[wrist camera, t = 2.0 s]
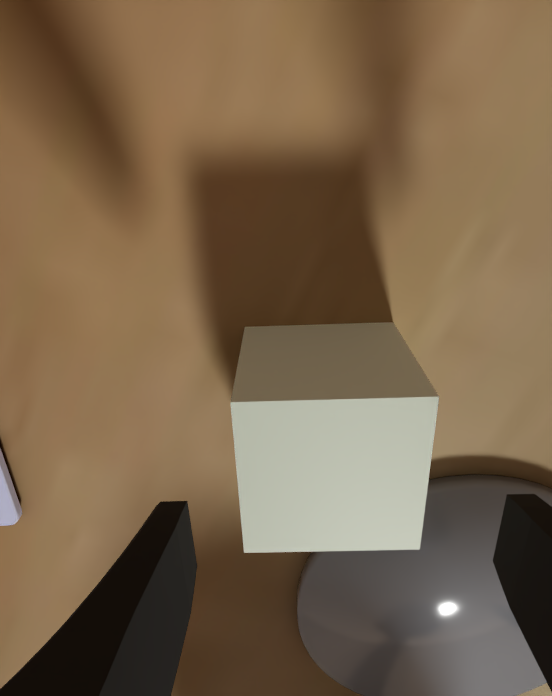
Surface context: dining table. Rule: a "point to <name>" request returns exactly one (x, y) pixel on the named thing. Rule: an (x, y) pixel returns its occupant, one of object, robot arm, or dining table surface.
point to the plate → (423, 604)
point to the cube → (331, 438)
